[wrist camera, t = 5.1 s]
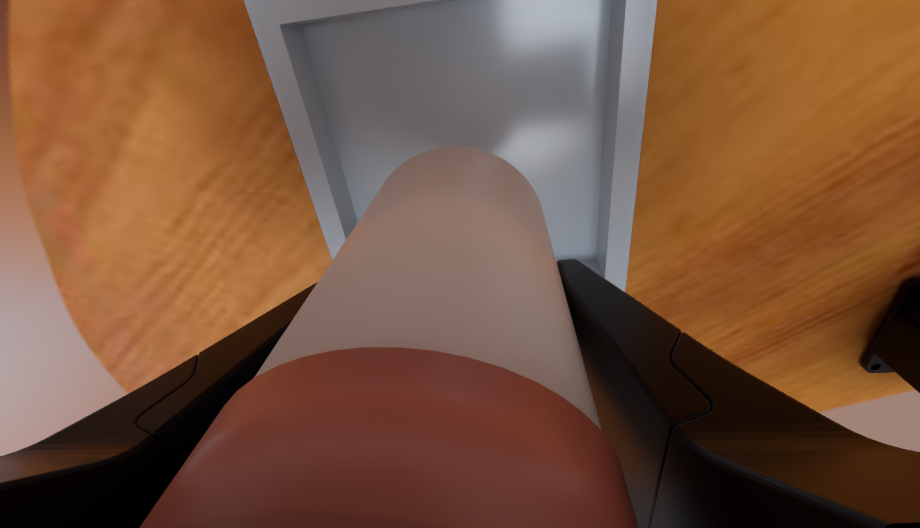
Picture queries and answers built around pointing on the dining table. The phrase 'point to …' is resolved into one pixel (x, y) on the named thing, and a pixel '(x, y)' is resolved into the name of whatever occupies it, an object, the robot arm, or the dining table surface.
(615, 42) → the dish
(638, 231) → the dining table surface
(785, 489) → the robot arm
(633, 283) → the dining table surface
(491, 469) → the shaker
